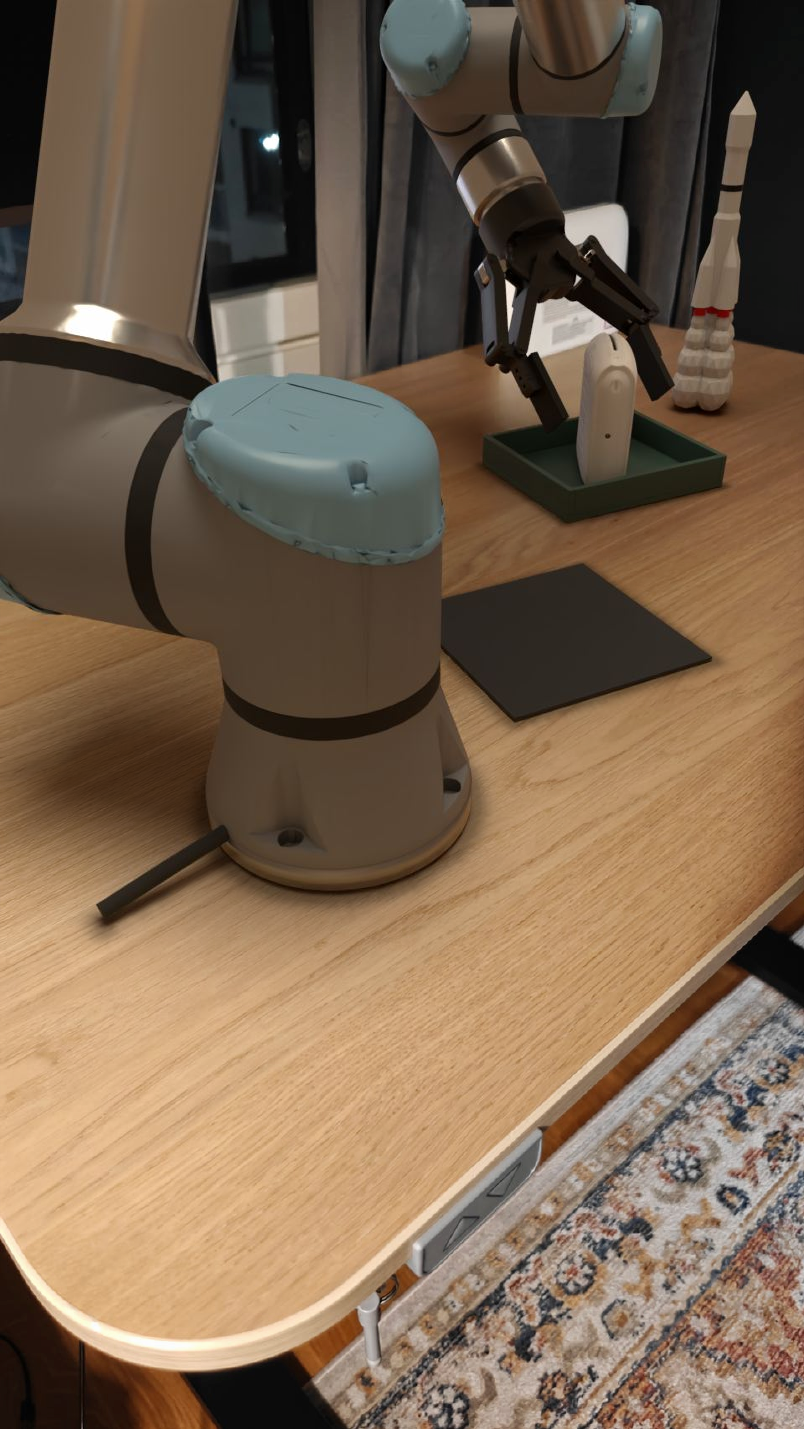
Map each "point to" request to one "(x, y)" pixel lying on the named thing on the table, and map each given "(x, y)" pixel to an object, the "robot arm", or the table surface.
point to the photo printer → (606, 408)
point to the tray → (554, 480)
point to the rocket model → (717, 283)
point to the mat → (558, 640)
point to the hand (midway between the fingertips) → (612, 409)
